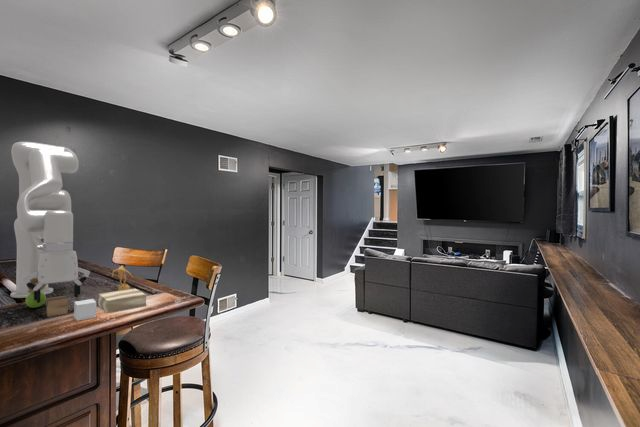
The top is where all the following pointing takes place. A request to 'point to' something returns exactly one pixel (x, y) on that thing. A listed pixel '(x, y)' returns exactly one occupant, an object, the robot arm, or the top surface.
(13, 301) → the top surface
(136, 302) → the birch block
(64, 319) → the top surface
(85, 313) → the grey cube
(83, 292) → the top surface
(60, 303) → the walnut cube
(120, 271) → the figurine
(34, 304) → the snail figurine
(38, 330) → the top surface
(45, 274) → the robot arm
